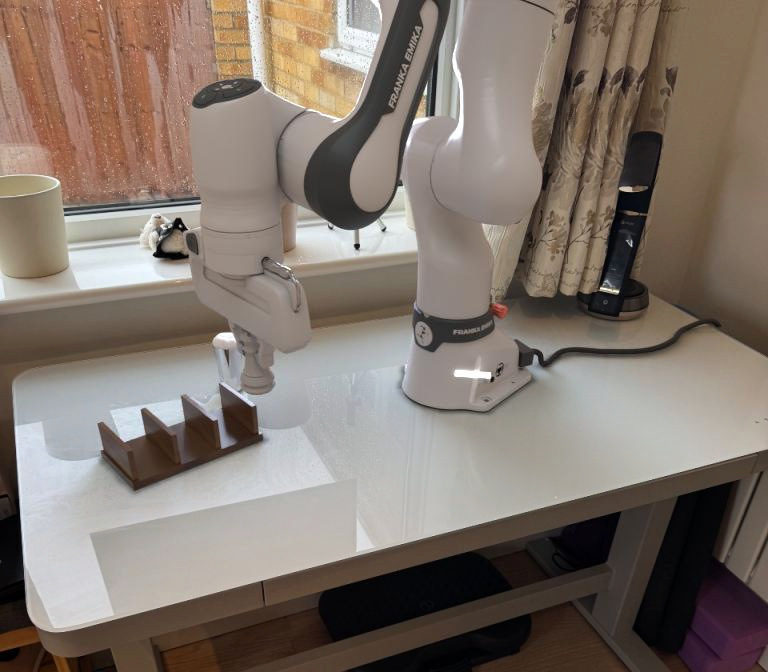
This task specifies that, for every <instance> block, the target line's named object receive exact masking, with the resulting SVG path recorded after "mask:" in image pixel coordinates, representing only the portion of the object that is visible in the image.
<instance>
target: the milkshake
mask: <svg viewBox="0 0 768 672" xmlns="http://www.w3.org/2000/svg"><path fill="white" fill-rule="evenodd" d="M211 343H212V348H213V352H214V356H215V360H216V361H215V362H216V364H217V371H218V375H219V380H220V383H221V382H225V383H226V384H227V385H229V386H230V387H232V388H233V389H234V390H236V391H237V392H238V393H239V392H240V391H241V390H243V389H242V388H241V385H240V384H241V383H242V382H241V381H240V376H241V374H242V373H243V355H242V354H240V353H239V352H238V351H237V345H236V340H235V338H234V336H233V334H232V332H220V333H218V334H217V335H216V336H214V338H213V339H212V342H211Z"/></svg>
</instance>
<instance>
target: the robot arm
mask: <svg viewBox="0 0 768 672" xmlns="http://www.w3.org/2000/svg"><path fill="white" fill-rule="evenodd" d="M370 1H371V2H372V4H374V5H375V7H377V8H378V11H379V15H380V31H379V36H378V40H377V42H376V46H375V48H374V52H373V55H372V57H371V60H370V63H369V65H368V69H367V72H366V74H365V77H364V80H363V83H362V87H361V88H360V89H361V90H360V92H359V96H358V98H357V100H356V104H355V105H354V106H353V108H352V110H351V111H350V112H349V113H348V114H347V115H346V116H344V117H343V118H338V117H335V116H331V115H329V114H326V113H324V112H321V111H317V110H315V109H311V108H307V107H305V106H303V105H299V104H296V103H293V102H291V101H289V100H287V99H286V98H285V99H284V98H283V97H281V96H279V95H277V93H274V92H272V91H271V90H270V89H268V88H267V87H266V86H265V85H264V84H263V83H262V82H261V81H260V80H258V79H255V78H251V77H236V78H226V79H221V80H218V81H215V82H212V83H210V84H207V85H206V86H204V87H202V88H201V89H200V90H199V91H198V92H197V93H196V94H195V95H194V96H193V99H192V100H191V103H190V108H189V116H188V117H189V118H188V127H189V129H188V132H189V133H188V134H189V147H190V148H189V149H190V157H191V158H190V159H191V167H192V175H193V181H194V184H195V187H196V188H197V192H198V193H199V199H200V213H199V225H200V226H198V227H194V228H189V229H187V230H184V231H183V232H182V240H183V245H184V247H185V249H186V250H187V251H188V253H189V254H188V261H189V262H188V263H189V269H190V273H191V279H192V284H193V289H194V292H195V294H196V297H197V299H198V300H199V302H200V303H201V304H202V305H204V306H206V307H207V308H208V309H210V310H212V311H213V312H215V313H217V314H219V315H220V316H222V317H223V318H225V319H227V323H228V327H229V329H230V332H231V333H232V334H233V336H234V338H235V340H236V345H237V351H238V352H239V353H240V354H242V357H245V351H244V350H243V346H244V342H243V341H242V340H241V339H240V337H239V336H240V334H241V333H242V329H245V330H246V331H248V332H250V333H251V334H253V335H255V336H256V337H257V342H258V343H259V344H260V347H259V351H256V352H254V354H255V359H256V360H255V362H256V364H257V365H259V366H260V367H262V368H264V369H265V368H268V367H270V368H271V367H273V366H274V365H275V357H274V354H275V350H277V351H279V352H280V353H282V354H285V355H289V354H292V353H295V352H298V351H300V350H303V349H305V348H307V347H308V346H309V345H310V343H311V342H312V339H313V338H312V326H311V320H310V311H309V305H308V299H307V296H306V292H305V289H304V287H303V286H302V284H301V283H300V282H299V280H297V278H296V277H295V276H294V272H293V270H292V269H291V268H289V267H287V266H285V265H283V264H284V262H285V252H284V239H283V238H284V236H283V225H282V209H283V207H284V206H285V205H290V204H295V205H297V206H299V207H301V208H304V209H306V210H308V211H310V212H313V213H315V214H316V215H317V216H319V217H320V218H322V219H323V220H324V221H326V222H328V223H330V224H331V225H333V226H334V227H336V228H338V229H341V230H344V231H357V230H361V229H365V228H367V227H369V226H371V225H372V224H374V223H375V222H376V221H377V220H379V219H380V218H381V217H382V216H383V215H384V214H385V213H386V212H387V210H388V209H389V208H390V207H391V204H392V202H393V201H394V199H395V197H396V195H397V191H398V188H399V184H400V180H401V182H402V184H403V186H404V189H405V192H406V195H407V198H408V201H409V207H410V211H411V216H412V221H413V226H414V233H415V237H416V246H417V284H416V285H417V287H416V299H415V300H414V303H413V309H412V321H411V322H412V323H411V325H412V333H411V340H410V346H409V352H408V358H407V362H405V363H404V369H403V370H404V376H403V379H402V382H401V389H402V391H403V393H404V394H405V395H406V396H407V397H408V398H409V399H411V400H412V401H414V402H416V403H417V404H420V405H423V406H427V407H430V408H434V409H440V410H469V411H475V412H487V411H490V410H491V409H492V408H494V407H495V406H497V405H498V404H500V403H501V402H503V401H504V400H505V399H507V398H508V397H509V396H511V395H512V394H514V393H515V392H516V391H518V390H519V389H520V388H522V387H524V386H525V385H526V384H527V383H529V382H531V380H532V373H531V372H530V370H529V368H527V367H528V366H529V367H530V366H533V363H534V357H535V356H536V357H537V362H538V364H539V366H541V367H548V366H549V365H551V364H552V363H554V361H555V360H556V359H558V358H559V357H560V356H562V355H564V354H571V353H573V354H574V353H579V354H581V353H582V354H592V355H640V354H641V355H642V354H647V353H653V352H657V351H661V350H664V349H665V348H668V347H670V346H671V345H673V344H674V343H676V342H677V341H678V340H679V339H680V337H681V335H682V334H683V333H685V332H688V331H690V330H692V329H694V328H697V327H700V326H703V325H708V324H711V325H713V326H714V327H715V328H722V327H723V326H722V324H721V322H720V321H719V320H717V319H716V318H712V317H710V318H709V317H707V318H702V319H697V320H696V321H693V322H690V323H688V324H685V325H684V326H681V327H680V328H679V329H677V330H676V331H675V333H674V334H673V336H672V337H671V338H669V339H667V340H665V341H663V342H661V343H657V344H656V345H651V346H645V347H638V348H597V347H586V346H568V347H562V348H560V349H558V350H556V351H554V352H553V353H552V354H551V355H550V356H549V357H548V358H547V359H546V360H545V357H544V353H543V352H542V351H541V349H538V348H533V347H530V346H528V345H526V344H525V343H523V342H522V341H520V340H519V339H518V338H515V339H513V338H512V337H511V336H510V335H508V334H507V333H505V331H503V330H502V329H500V328H499V327H498V325H496V323H495V317H496V318H498V319H499V320H503V319H505V318H506V317H507V315H508V312H509V310H508V307H507V306H506V305H503V304H500V303H498V302H495V303H494V304H491V303H490V302H491V292H492V284H493V276H494V266H495V255H494V252H493V251H494V250H493V249H492V246H491V245H490V242H489V241H488V239H487V237H486V234H485V231H484V228H483V225H489V226H500V227H501V226H502V227H507V226H508V227H509V226H513V225H515V224H517V223H520V222H521V221H522V220H523V219H524V218H525V217H527V216H528V215H529V214H530V213H531V211H532V210H533V208H534V207H535V206H536V203H537V201H538V199H539V197H540V193H541V190H542V185H543V169H542V164H541V162H540V160H539V157H538V155H537V152H536V149H535V144H534V139H533V103H534V95H535V89H536V83H537V80H538V76H539V72H540V69H541V65H542V62H543V58H544V54H545V51H546V47H547V45H548V41H549V38H550V35H551V31H552V28H553V25H554V22H555V18H556V16H557V12H558V9H559V6H560V2H561V0H467V2H466V5H465V10H464V13H463V17H462V20H461V23H460V28H459V30H458V31H459V32H458V34H457V38H456V42H455V46H454V50H453V54H452V67H453V71H454V73H455V75H456V77H457V81H458V85H459V91H460V108H459V118H456V117H455V118H454V117H451V116H447V115H432V116H431V115H430V116H423V117H419V118H416V117H417V114H418V111H419V108H420V104H421V102H422V99H423V96H424V93H425V91H426V88H427V84H428V82H429V79H430V77H431V73H432V71H433V68H434V64H435V61H436V59H437V56H438V53H439V50H440V47H441V43H442V41H443V38H444V34H445V31H446V28H447V24H448V19H449V15H450V11H451V2H452V0H370Z"/></svg>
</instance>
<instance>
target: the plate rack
mask: <svg viewBox="0 0 768 672" xmlns="http://www.w3.org/2000/svg"><path fill="white" fill-rule="evenodd" d="M218 387H219V396H220V403H221V404H220V405H221V407H220V408H218V409H215V410H212V411H208V410H207V409H205V408H204V407H203V406H202V405H201V404H199V403H197V402H196V400H194V399H193V398H191V396H189V395H187V394H186V393H185V394H181V395H180V400H181V406H182V412H183V418H184V420H183V421H181V422H178V423H175V424H171V425H169V426H168V425H166V423H164V422H163V421H162V420H161V419H159V418H158V417H157V416H156V415H155V414H154V413H153V412H152V411H151V410H149V409H148V408H147V407H143V408H140V414H141V420H142V425H143V429H144V435H141V436H138V437H135V438H133V439H130V440H127V441H124V440H123V439H122V438H121V437H119V435H118V434H117V433H116V432H114V431H113V430H112V428H110V427H109V426H108V425H107V424H106V423H105V422H104V421H100V422H98V423H96V424H97V428H98V432H99V436H100V440H101V441H100V442H101V445H102V449H101V450H100V454H101V458H102V459H103V461H105V463H107V464H108V465H109V466H110V468H112V470H114V471H115V473H117V475H118V476H119V477H120V478H121V479H122V480H123V481H124V482H125V483H126V484H127V485H128V486H129V487H130V488H131V489H132V490H133V491H137V490H140V489H142V488H146V487H148V486H151V485H153V484H155V483H158V482H160V481H163V480H166V479H168V478H171V477H173V476H176V475H178V474H181V473H184V472H186V471H189V470H192V469H195V468H197V467H200V466H202V465H204V464H207V463H209V462H212V461H214V460H217V459H219V458H222V457H224V456H227V455H230V454H232V453H235V452H238V451H240V450H242V449H245V448H248V447H250V446H252V445H255V444H257V443H261V442H263V441H264V433H263V432H261V431H260V429H259V418H258V408H257V407H258V406H257V404H256V403H254V402H253V401H251V400H250V399H248V398H247V397H246V396H244V395H243V394H241V393H240V392H239V391H238V392H237V391H236V390H234V389H233V388H232V387H230V386H229V385H227V384H226V383H225V382H221V381H220V382H219V383H218Z"/></svg>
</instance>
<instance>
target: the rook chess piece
mask: <svg viewBox="0 0 768 672" xmlns="http://www.w3.org/2000/svg"><path fill="white" fill-rule="evenodd" d="M239 337H240V339H241V340H242V341H243V342H244V346H243V350H244V351H245V356H244V367H243V368H242V374H241V376H240V381H241V382H242V383H241V384H240V385H241V388H242V389H241V390H243V391H244V392H245V393H246V394H248V395H251V396H262V395H265V394H269V393H270V392H272V391H273V389H274V388H275V386H276V385H277V384H276V380H275V374H274V371H272V370H271V367H268V368H265V369H264V368H262V367H260V366H259V365H257V364H256V362H255V360H256V359H255V354H254V352H256V351H259V347H260V344H259V343H258V342H257V337H256V336H255V335H253V334H251V333H250V332H248V331H246V330H245V329H242V333H241V334H240V336H239Z"/></svg>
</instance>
